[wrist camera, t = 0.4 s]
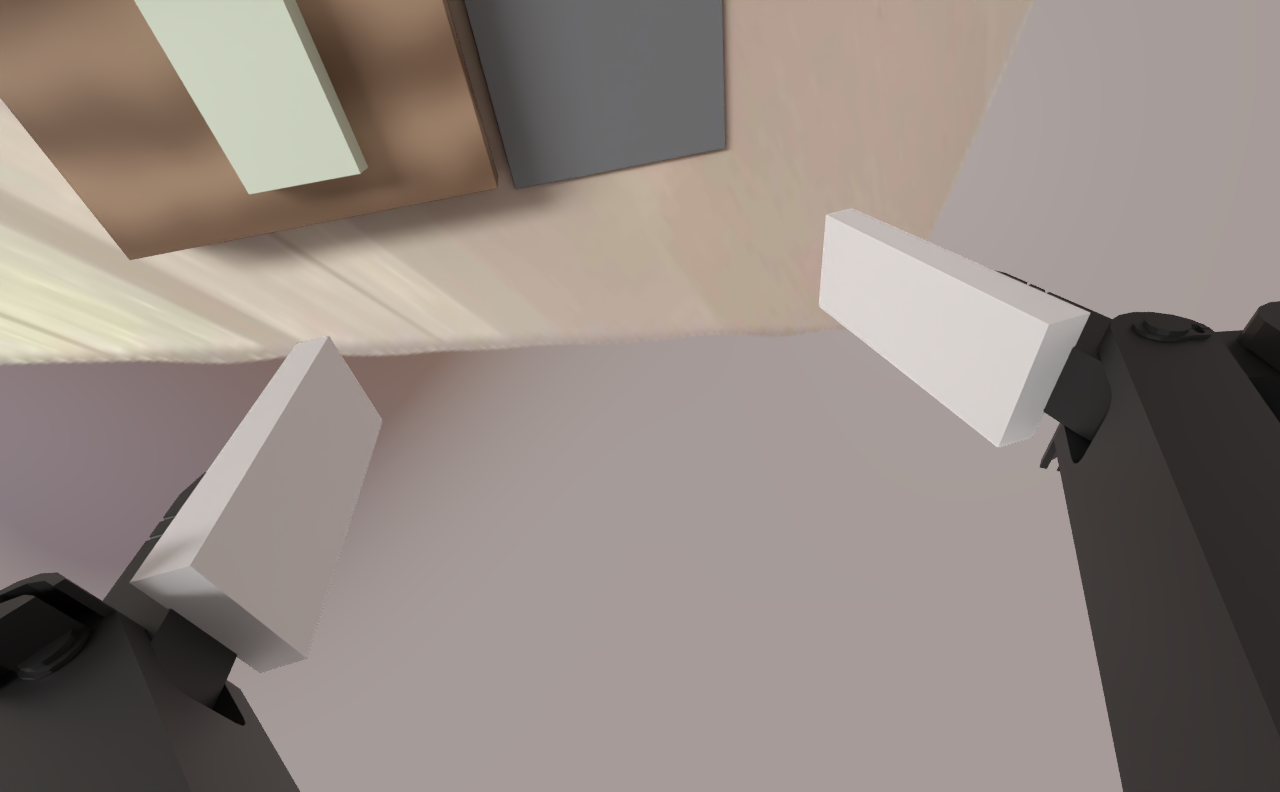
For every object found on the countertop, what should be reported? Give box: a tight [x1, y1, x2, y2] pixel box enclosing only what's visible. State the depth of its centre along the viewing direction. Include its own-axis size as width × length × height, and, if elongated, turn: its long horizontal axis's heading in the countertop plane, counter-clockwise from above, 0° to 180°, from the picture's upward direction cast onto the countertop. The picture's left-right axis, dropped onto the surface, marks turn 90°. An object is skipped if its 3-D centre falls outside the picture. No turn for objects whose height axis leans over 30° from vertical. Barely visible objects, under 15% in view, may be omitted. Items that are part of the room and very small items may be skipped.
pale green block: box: [134, 0, 368, 194], centre depth 25 cm, size 9×6×2 cm, turn 8°
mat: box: [464, 0, 725, 189], centre depth 31 cm, size 16×16×1 cm
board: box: [0, 0, 498, 260], centre depth 27 cm, size 14×22×4 cm, turn 98°
